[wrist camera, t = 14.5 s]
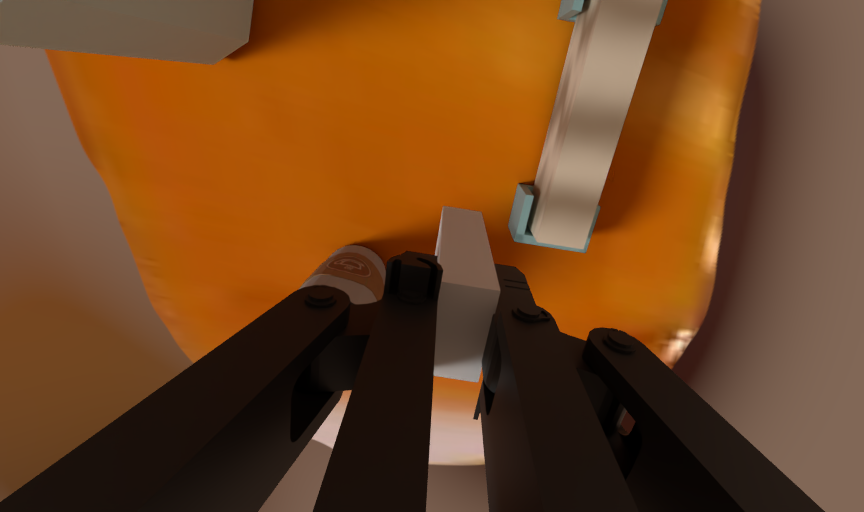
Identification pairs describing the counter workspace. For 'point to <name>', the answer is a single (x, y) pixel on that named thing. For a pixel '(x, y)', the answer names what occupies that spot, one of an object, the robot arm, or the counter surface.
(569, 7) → the end caps
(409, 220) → the counter surface
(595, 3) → the slat
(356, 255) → the coffee cup
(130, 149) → the counter surface
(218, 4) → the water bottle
